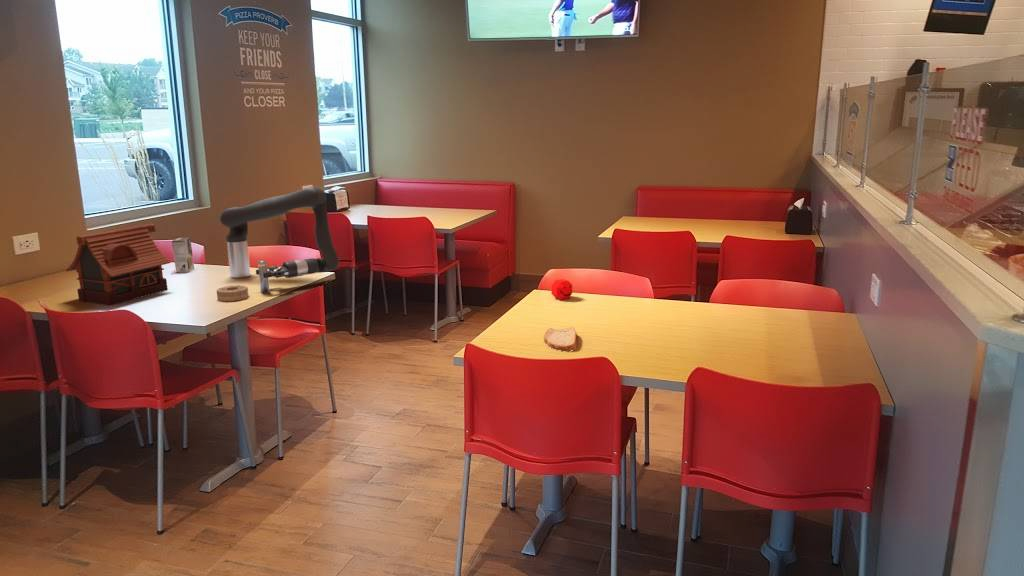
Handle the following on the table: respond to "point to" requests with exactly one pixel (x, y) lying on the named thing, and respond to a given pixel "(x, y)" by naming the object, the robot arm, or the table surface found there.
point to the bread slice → (561, 339)
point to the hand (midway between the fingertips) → (259, 274)
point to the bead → (232, 293)
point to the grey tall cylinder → (263, 281)
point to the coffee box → (183, 254)
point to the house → (119, 265)
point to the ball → (561, 289)
